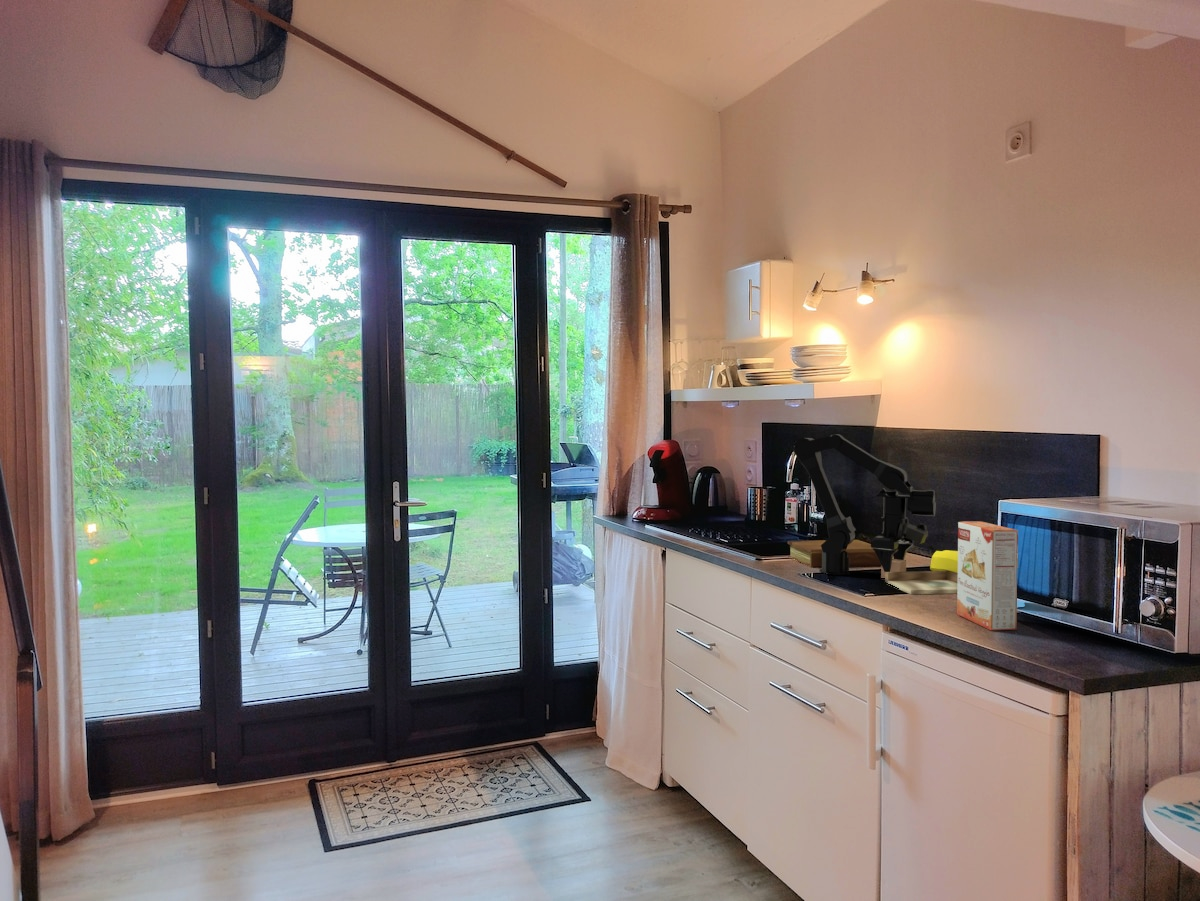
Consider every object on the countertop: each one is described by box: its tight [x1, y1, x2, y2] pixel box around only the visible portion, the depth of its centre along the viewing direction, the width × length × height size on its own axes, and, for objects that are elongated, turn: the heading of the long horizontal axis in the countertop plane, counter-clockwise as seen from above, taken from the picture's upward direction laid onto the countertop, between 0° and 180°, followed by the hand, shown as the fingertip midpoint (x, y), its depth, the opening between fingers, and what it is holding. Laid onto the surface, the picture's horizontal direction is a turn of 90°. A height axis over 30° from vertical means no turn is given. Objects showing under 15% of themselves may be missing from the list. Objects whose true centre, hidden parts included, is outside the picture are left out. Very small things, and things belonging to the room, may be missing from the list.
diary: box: [787, 539, 881, 568], centre depth 257 cm, size 23×19×6 cm
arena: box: [884, 570, 958, 595], centre depth 217 cm, size 18×14×3 cm
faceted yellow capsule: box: [929, 549, 958, 573], centre depth 235 cm, size 18×7×8 cm
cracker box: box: [956, 520, 1019, 632], centre depth 179 cm, size 14×6×21 cm, turn 5°
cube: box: [880, 558, 907, 579], centre depth 230 cm, size 5×5×5 cm
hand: (893, 571), depth 230 cm, fingers open, 9 cm apart
